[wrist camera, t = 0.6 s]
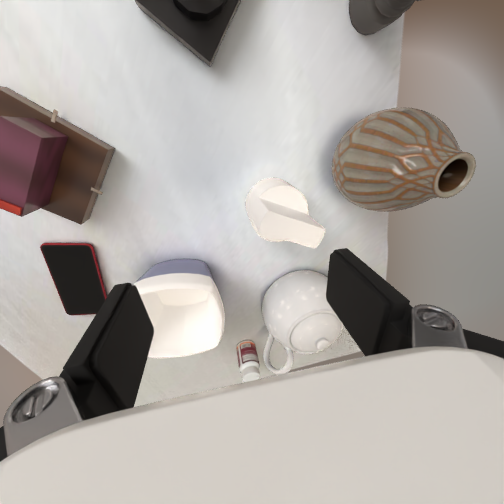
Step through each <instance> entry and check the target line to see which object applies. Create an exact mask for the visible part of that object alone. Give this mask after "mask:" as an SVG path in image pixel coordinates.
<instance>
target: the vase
mask: <svg viewBox="0 0 504 504" xmlns="http://www.w3.org/2000/svg"><path fill="white" fill-rule="evenodd" d="M475 167H476V162H475V158H474V157H473V155H472V154H470V153H467V152H463V151H461V150H460V148H459V146H458V144H457V141H456V140H455V137H454V136H453V134H452V132H451V131H450V129H449V128H448V127H447V126H446V125H445V123H444V122H442V121H441V120H440V119H438V118H437V117H436V116H434V115H432V114H430V113H428V112H426V111H423V110H418V109H414V108H391V109H386V110H382V111H378V112H375V113H373V114H370V115H368V116H366V117H365V118H363V119H361V120H360V121H358V122H357V123H356V124H354V125H353V126H352V127H351V128H350V129H349V130H348V131H347V132H346V133H345V134H344V136H343V137H342V138H341V140H340V142H339V143H338V145H337V147H336V150H335V152H334V155H333V160H332V176H333V179H334V182H335V185H336V187H337V189H338V190H339V192H340V193H341V194H342V195H343V196H344V197H345V198H346V199H347V200H348V201H350V202H352V203H353V204H355V205H357V206H359V207H362V208H365V209H368V210H373V211H381V212H386V211H397V210H403V209H406V208H410V207H413V206H416V205H418V204H421V203H423V202H426V201H428V200H430V199H432V198H436V197H440V198H449V197H452V196H454V195H456V194H457V193H459V192H460V191H462V189H464V188H465V187H466V186H467V184H468V183H469V182H470V180H471V178H472V176H473V174H474V171H475Z"/></svg>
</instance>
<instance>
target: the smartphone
mask: <svg viewBox="0 0 504 504" xmlns="http://www.w3.org/2000/svg"><path fill="white" fill-rule="evenodd" d="M40 248H41V251H42V253H43V256H44V258H45V261H46V263H47V266H48V268H49V271H50V274H51V276H52V279H53V281H54V284H55V286H56V289H57V291H58V294H59V296H60V299H61V301H62V304H63V306H64V309H65V311H66V313H67V314H69V315H88V314H97V313H98V311H99V310H100V308H101V306H102V305H103V303H104V302H105V300H106V298H107V296H106V292H105V289H104V285H103V281H102V278H101V274H100V270H99V267H98V263H97V259H96V256H95V252H94V248H93V246H92V245H91V244H88V243H44V244H42V245H41V247H40Z"/></svg>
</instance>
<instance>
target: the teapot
mask: <svg viewBox="0 0 504 504" xmlns="http://www.w3.org/2000/svg"><path fill="white" fill-rule="evenodd" d="M327 280H328V278H327V277H326V276H324V275H322V274H320V273H318V272H315V271H310V270H299V271H294V272H291V273H288V274H286V275H284V276H282V277H281V278H279V279H278V280H276V281H275V282H274V283H273V284H272V285H271V286H270V288H269V289H268V290H267V292H266V294H265V296H264V299H263V302H262V315H263V319H264V322H265V325H266V327H267V329H268V331H269V335H268V338H267V341H266V344H265V347H264V352H263V359H264V363H265V365H266V367H267V368H268V369H269V370H270V371H271V372H272V373H274V374H277V375H280V374H285V373H287V372H289V370H290V369H291V367H292V365H293V361H294V356H293V351H294V352H297V353H299V354H313V353H317V352H320V351H322V350H325V349H326V348H327V347H329V346H330V345H332V344H333V343H334V342H335V341H336V340H337V339H338V338H339V336H340V334H341V332H342V330H343V323H342V322H341V321H340V319H339V318H338V316H337V315H336V313H335V312H334V311H333V309H332V308H331V306H330V305H329V303H328V302H327V299H326V289H327ZM274 339H276V340H277V341H278V342H279V343H281V344H282V345H283V346H284V349H285V350H286V352H287V361H286V363H285V365H284V366H283V367H282V368H281V369H276V368H274V367H273V366H272V365H271V363H270V359H269V354H270V349H271V346H272V344H273V341H274Z"/></svg>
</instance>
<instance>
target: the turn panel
mask: <svg viewBox="0 0 504 504" xmlns="http://www.w3.org/2000/svg"><path fill="white" fill-rule="evenodd" d="M57 114H58V111H56V110H54V111H53V113H51V112H50V111H48V110H46V109H44V108H43V107H41V106H39V105H37V104H35V103H34V102H32V101H30V100H28V99H27V98H25V97H23V96H21V95H20V94H18V93H16V92H14V91H12V90H11V89H9V88H6V87H1V86H0V116H8V117H22V118H35V119H36V120H38V121H40V122H42V123H44V124H46V125H47V126H49V127H51V128H53V129H55V130H57V131H59V132H60V133H62V134H64V135H66V136H68V139H67V142H66V145H65V149H64V152H63V156H62V159H61V163H60V166H59V170H58V173H57V176H56V180H55V183H54V187H53V190H52V194H51V197H50V201H49V204H48V205H46V206H44V207H42V209H45V210H47V211H50V212H52V213H55V214H57V215H59V216H62V217H64V218H67V219H69V220H71V221H74V222H76V223H79V224H82V223H84V222H85V221H86V220H88V219H89V217H90V215H91V212H92V209H93V207H94V204H95V201H96V198H97V196H98V194H101V195H102V193H103V192H100V191H99V190H100V188H101V185H102V182H103V180H104V177H105V174H106V171H107V169H108V166H109V163H110V161H111V158H112V155H113V153H114V150H115V148H114V147H112V146H110V145H108V144H106V143H105V142H103V141H101V140H99V139H98V138H96V137H94V136H92V135H91V134H89V133H87V132H85V131H83V130H82V129H80V128H78V127H76V126H75V125H73V124H71V123H69V122H67V121H66V120H64V119H62V118H60V117H59V116H57Z"/></svg>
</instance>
